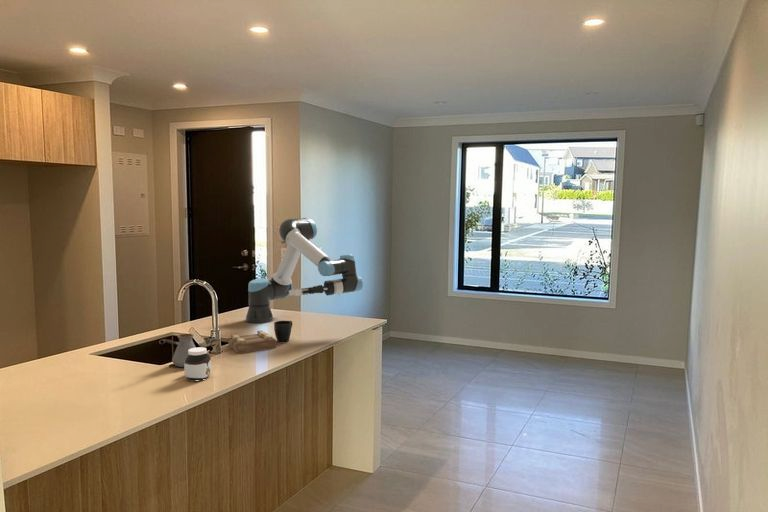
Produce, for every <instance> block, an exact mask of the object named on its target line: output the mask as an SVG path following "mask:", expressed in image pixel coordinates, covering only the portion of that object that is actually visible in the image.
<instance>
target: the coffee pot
mask: <svg viewBox="0 0 768 512" xmlns="http://www.w3.org/2000/svg"><path fill="white" fill-rule="evenodd" d="M194 336H195V335H194V334H193V333H181V334H178V335H177V338H178V341H174V340H171V339H167V338H162V339H159V345H160V344H161V345H163V344H165V343H167V344H173V345H177V346H176V348H175V351H174V353H173V356H172V359H171V362H172V364H174V365H175V366H176V367H177V366H179V367H184V363H185V359H186V358H187V356H188V355H189V354H188V350H189V349H191V348H197V347H196V345H195V343H194V341H193V337H194ZM161 341H162V342H163V343H161ZM179 367H178V368H179Z"/></svg>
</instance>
